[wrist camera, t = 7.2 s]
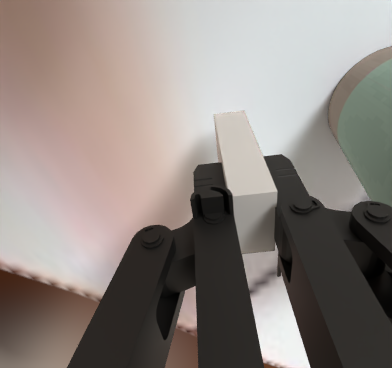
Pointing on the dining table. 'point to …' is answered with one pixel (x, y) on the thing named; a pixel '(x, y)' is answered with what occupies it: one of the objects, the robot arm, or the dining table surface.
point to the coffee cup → (366, 122)
